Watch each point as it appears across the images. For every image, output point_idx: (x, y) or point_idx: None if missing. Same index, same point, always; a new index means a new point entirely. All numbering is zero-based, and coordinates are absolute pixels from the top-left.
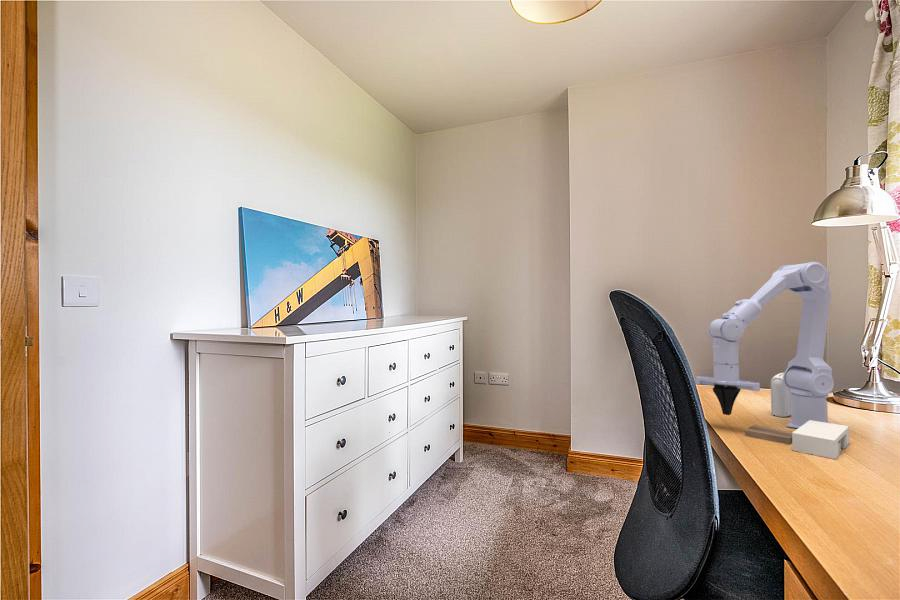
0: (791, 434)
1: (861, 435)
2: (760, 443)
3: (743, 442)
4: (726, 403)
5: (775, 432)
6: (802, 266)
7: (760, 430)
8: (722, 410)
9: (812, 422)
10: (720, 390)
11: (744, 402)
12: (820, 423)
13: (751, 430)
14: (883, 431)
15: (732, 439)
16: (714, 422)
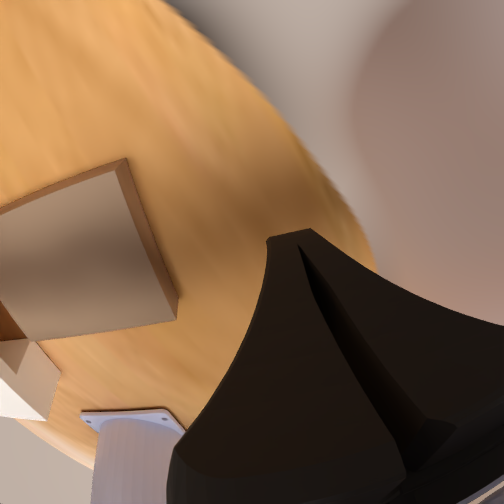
0: (5, 298)
1: (62, 433)
2: (10, 106)
3: (53, 29)
4: (296, 292)
5: (34, 273)
6: None
7: (76, 243)
8: (322, 239)
9: (16, 401)
10: (452, 405)
11: None
12: (5, 402)
13: (89, 195)
14: (86, 462)
15: (114, 15)
16: (373, 262)
